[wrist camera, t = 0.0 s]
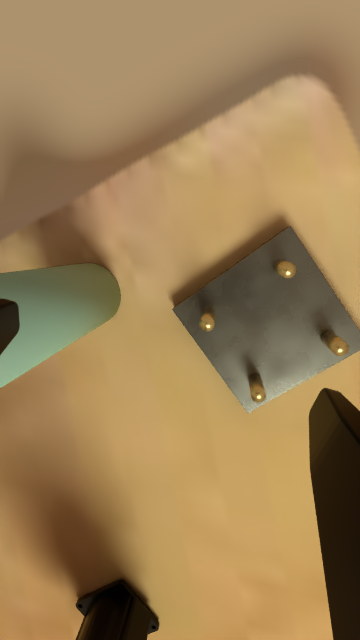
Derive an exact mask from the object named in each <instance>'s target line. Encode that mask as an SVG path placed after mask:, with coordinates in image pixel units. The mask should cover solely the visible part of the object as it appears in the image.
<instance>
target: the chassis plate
mask: <svg viewBox="0 0 360 640" xmlns="http://www.w3.org/2000/svg"><path fill="white" fill-rule="evenodd" d="M172 310H173V311H174V313H175V314H176V315H177V317H178V318H179V319H180V321H181V322H182V324H183V325H184V326H185V328H186V329H187V330H188V332H189V333H190V335H191V336H192V337H193V339H194V340H195V341H196V343H197V344H198V346H199V347H200V348H201V350H202V351H203V352H204V354H205V355H206V357H207V358H208V359H209V361H210V362H211V363H212V365H213V366H214V367H215V369H216V370H217V372H218V373H219V374H220V376H221V377H222V378H223V380H224V381H225V383H226V384H227V385H228V387H229V388H230V389H231V391H232V392H233V394H234V395H235V396H236V398H237V399H238V400H239V402H240V403H241V405H242V406H243V407H244V409H245V410H246V411H247V413H249V412H251V411H253V410H254V409H256V408H258V407H260V406H261V405H263V404H265V403H267V402H269V401H270V400H272V399H274V398H276V397H277V396H279V395H281V394H283V393H285V392H286V391H288V390H290V389H292V388H294V387H295V386H297V385H299V384H301V383H302V382H304V381H306V380H308V379H310V378H311V377H313V376H315V375H317V374H318V373H320V372H322V371H324V370H326V369H327V368H329V367H331V366H333V365H335V364H336V363H338V362H340V361H342V360H343V359H345V358H347V357H349V356H351V355H352V354H354V353H356V352H358V351H359V350H360V331H359V329H358V328H357V326H356V325H355V323H354V322H353V320H352V318H351V317H350V315H349V314H348V312H347V311H346V309H345V308H344V306H343V305H342V303H341V302H340V300H339V299H338V297H337V296H336V294H335V293H334V291H333V290H332V288H331V287H330V285H329V284H328V282H327V281H326V279H325V278H324V276H323V274H322V273H321V271H320V270H319V268H318V267H317V265H316V264H315V262H314V261H313V259H312V258H311V256H310V255H309V253H308V252H307V250H306V249H305V247H304V246H303V244H302V243H301V241H300V240H299V238H298V237H297V235H296V234H295V232H294V231H293V229H292V227H291V226H290V227H287V228H286V229H284V230H283V231H282V232H280V233H279V234H277V235H276V236H274V237H273V238H272V239H270V240H269V241H267V242H266V243H264V244H263V245H262V246H260V247H259V248H257V249H256V250H255V251H253V252H252V253H250V254H249V255H247V256H246V257H245V258H243V259H242V260H240V261H239V262H238V263H236V264H235V265H233V266H232V267H230V268H229V269H228V270H226V271H225V272H223V273H222V274H221V275H219V276H218V277H216V278H215V279H213V280H212V281H211V282H209V283H208V284H206V285H205V286H204V287H202V288H201V289H199V290H198V291H196V292H195V293H194V294H192V295H191V296H189V297H188V298H187V299H185V300H184V301H182V302H181V303H179V304H178V305H177V306H175V307H174V308H173V309H172Z"/></svg>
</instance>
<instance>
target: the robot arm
mask: <svg viewBox="0 0 360 640" xmlns="http://www.w3.org/2000/svg"><path fill="white" fill-rule="evenodd" d="M19 328H20V321H19V307H18V304H17V303H16V302H15V301H11V300H8V299H4V298H1V299H0V355H1V354H2V353H3V351H4V350H5V349H6V347H7V346H8V345H9V344H10V342H11V341H12V340H13V339H14V337H15V336H16V335H17V333H18V331H19ZM309 449H310V472H311V480H312V488H313V495H314V502H315V509H316V516H317V524H318V531H319V538H320V545H321V553H322V560H323V567H324V574H325V582H326V589H327V596H328V603H329V610H330V618H331V625H332V632H333V639H334V640H360V411H359V410H358V409H357V408H356V407H355V406H354V405H353V404H352V403H351V402H350V401H349V400H348V399H347V398H345V397H344V396H343V395H342V394H341V393H340V392H338V391H335V390H331V389H328V388H324V389H322V390H321V391H320V393H319V395H318V397H317V399H316V400H315V402H314V404H313V406H312V408H311V410H310V413H309ZM76 607H77V609H78V610H79V611H80V612H81V613H82V614H83V615H84V619H83V622H82V624H81V627H80V630H79V632H78V635H77V637H76V640H147V636H148V634H150V633H152V632H155V631H157V630H158V629H159V621H158V620H157V619H156V618H155V617H154V615H153V614H152V613H151V612H150V611H149V609H148V608H147V607H146V606H145V605H144V603H143V602H142V601H141V600H140V599H139V597H138V596H137V595H136V594H135V593H134V592H133V590H132V589H131V588H130V587H129V586H128V584H127V583H126V582H125V581H123V580H118V581H116V582H114V583H112V584H109V585H107V586H105V587H103V588H101V589H99V590H97V591H94V592H92V593H90V594H88V595H86V596H84V597H81V598H79V599H78V601H77V603H76Z"/></svg>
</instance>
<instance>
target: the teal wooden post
mask: <svg viewBox="0 0 360 640" xmlns="http://www.w3.org/2000/svg"><path fill="white" fill-rule="evenodd" d="M1 298H4V299H8V300H11V301H15V302H16V303H17V304H18V307H19V321H20V328H19V331H18V333H17V335H16V336H15V337H14V339H13V340H12V341H11V342H10V344H9V345H8V346H7V347H6V349H5V350H4V351H3V353H2V354H1V355H0V388H1V387H3V386H5V385H6V384H8V383H9V382H11V381H13V380H14V379H16V378H17V377H19V376H21V375H22V374H24V373H25V372H27V371H29V370H30V369H32V368H33V367H35V366H37V365H38V364H40V363H41V362H43V361H44V360H46V359H48V358H49V357H51V356H52V355H54V354H56V353H57V352H59V351H60V350H62V349H64V348H65V347H67V346H68V345H70V344H72V343H73V342H75V341H76V340H78V339H80V338H81V337H83V336H84V335H86V334H87V333H89V332H91V331H92V330H94V329H95V328H97V327H99V326H100V325H102V324H103V323H105V322H107V321H108V320H110V319H111V318H112V317H113V316H114V315H115V313H116V312H117V310H118V308H119V305H120V299H121V294H120V288H119V285H118V283H117V281H116V279H115V277H114V276H113V275H112V274H111V273H110V272H109V271H108V270H107V269H106V268H104V267H102V266H100V265H98V264H94V263H82V264H74V265H65V266H57V267H49V268H41V269H32V270H24V271H16V272H7V273H0V299H1Z"/></svg>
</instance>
